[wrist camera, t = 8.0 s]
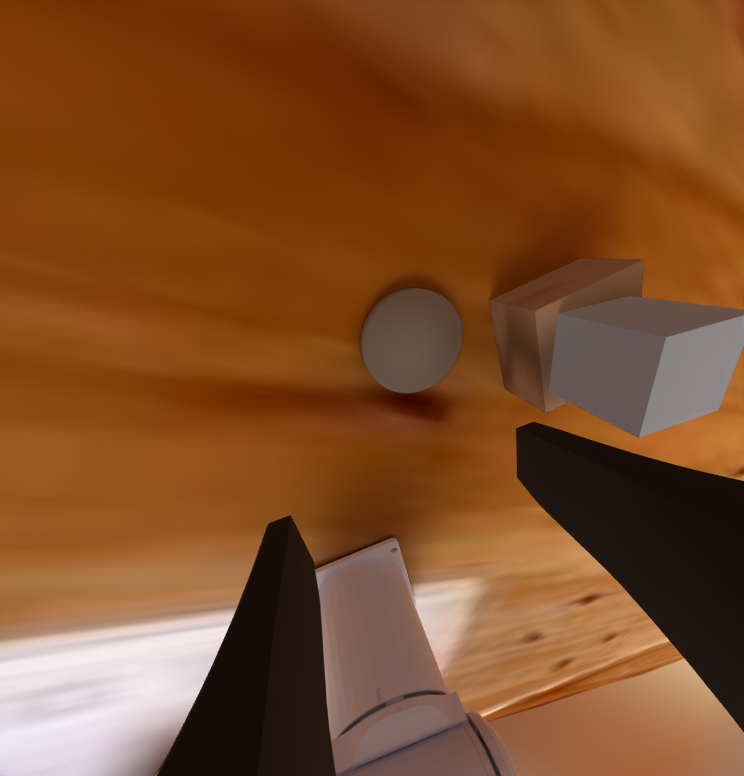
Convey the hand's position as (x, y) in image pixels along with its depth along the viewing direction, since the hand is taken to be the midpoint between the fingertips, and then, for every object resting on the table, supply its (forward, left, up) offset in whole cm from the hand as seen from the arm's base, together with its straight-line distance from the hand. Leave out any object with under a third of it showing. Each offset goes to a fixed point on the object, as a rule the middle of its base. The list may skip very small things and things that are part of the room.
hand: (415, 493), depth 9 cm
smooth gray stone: (+1, -4, -10) cm, 11 cm away
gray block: (-1, -13, -6) cm, 14 cm away
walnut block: (-1, -13, -10) cm, 17 cm away
